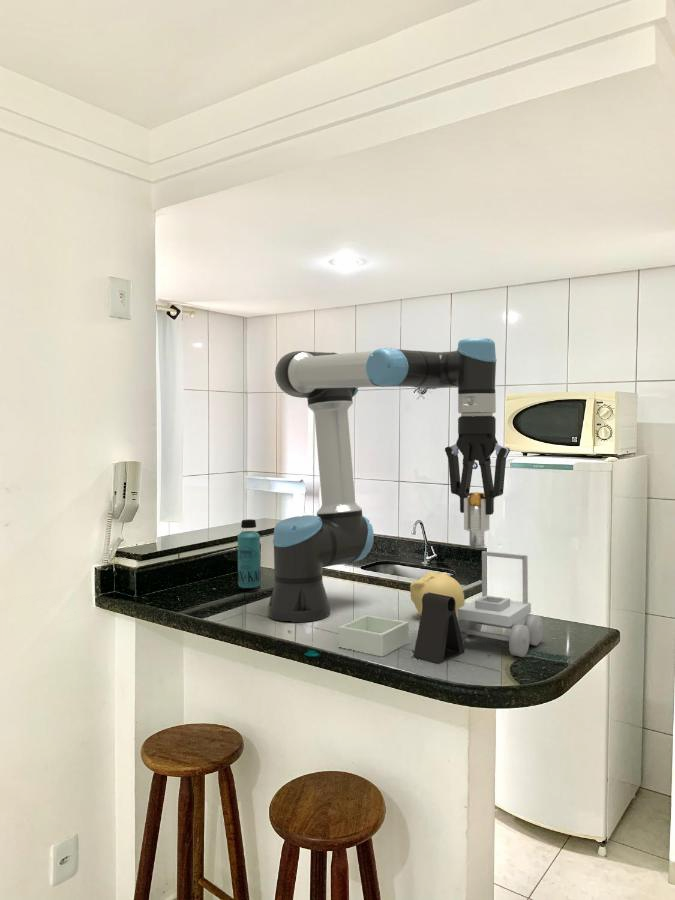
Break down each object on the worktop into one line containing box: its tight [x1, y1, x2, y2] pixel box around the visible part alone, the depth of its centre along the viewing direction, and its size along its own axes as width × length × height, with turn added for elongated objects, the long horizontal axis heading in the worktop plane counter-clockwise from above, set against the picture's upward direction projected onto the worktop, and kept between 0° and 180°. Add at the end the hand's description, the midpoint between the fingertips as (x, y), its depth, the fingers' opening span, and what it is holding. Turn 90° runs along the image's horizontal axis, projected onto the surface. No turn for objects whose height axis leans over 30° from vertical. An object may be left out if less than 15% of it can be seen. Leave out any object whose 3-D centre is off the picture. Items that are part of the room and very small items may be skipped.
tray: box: [338, 614, 410, 658], centre depth 145 cm, size 11×11×4 cm
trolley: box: [456, 551, 544, 658], centre depth 143 cm, size 15×14×18 cm
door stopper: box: [412, 592, 466, 665], centre depth 138 cm, size 9×6×12 cm, turn 135°
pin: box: [468, 492, 485, 549], centre depth 142 cm, size 3×3×11 cm
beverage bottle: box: [236, 518, 262, 589], centre depth 194 cm, size 6×7×20 cm
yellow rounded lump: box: [409, 571, 465, 616], centre depth 164 cm, size 11×12×11 cm
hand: (476, 529), depth 143 cm, fingers closed on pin, 3 cm apart
